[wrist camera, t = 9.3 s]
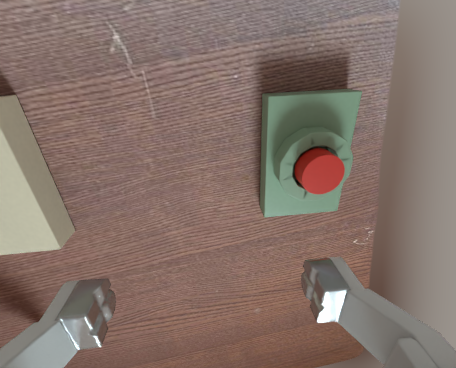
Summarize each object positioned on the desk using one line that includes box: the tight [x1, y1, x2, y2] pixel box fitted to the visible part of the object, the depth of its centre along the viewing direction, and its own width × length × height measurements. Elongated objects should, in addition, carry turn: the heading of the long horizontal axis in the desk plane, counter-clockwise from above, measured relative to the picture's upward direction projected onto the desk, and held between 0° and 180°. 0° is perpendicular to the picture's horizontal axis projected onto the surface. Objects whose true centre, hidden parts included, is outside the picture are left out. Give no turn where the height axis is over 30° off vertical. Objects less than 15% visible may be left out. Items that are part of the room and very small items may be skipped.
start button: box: [295, 148, 345, 194], centre depth 19 cm, size 4×4×2 cm
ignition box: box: [260, 89, 362, 217], centre depth 22 cm, size 12×8×4 cm, turn 2°
